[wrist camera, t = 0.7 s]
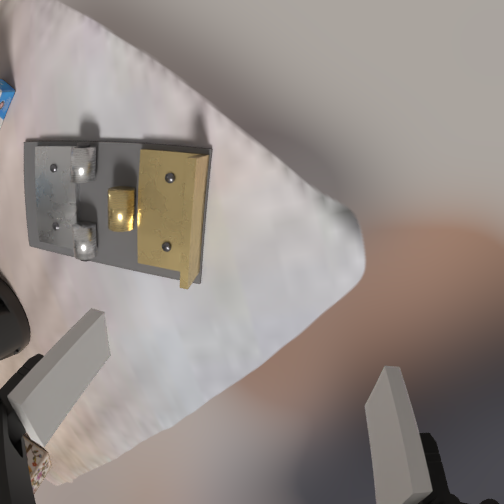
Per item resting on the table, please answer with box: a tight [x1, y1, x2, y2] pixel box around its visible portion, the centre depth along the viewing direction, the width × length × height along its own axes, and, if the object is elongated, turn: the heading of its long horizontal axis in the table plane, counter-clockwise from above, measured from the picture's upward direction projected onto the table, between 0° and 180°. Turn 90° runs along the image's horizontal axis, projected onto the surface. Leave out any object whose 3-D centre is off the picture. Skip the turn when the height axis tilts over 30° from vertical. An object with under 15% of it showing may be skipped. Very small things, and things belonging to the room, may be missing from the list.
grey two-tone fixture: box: [24, 141, 212, 284], centre depth 33 cm, size 25×14×1 cm, turn 83°
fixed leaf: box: [35, 142, 97, 261], centre depth 31 cm, size 10×13×3 cm
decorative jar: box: [23, 435, 52, 494], centre depth 56 cm, size 12×12×18 cm
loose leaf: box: [108, 149, 210, 289], centre depth 30 cm, size 10×12×4 cm
